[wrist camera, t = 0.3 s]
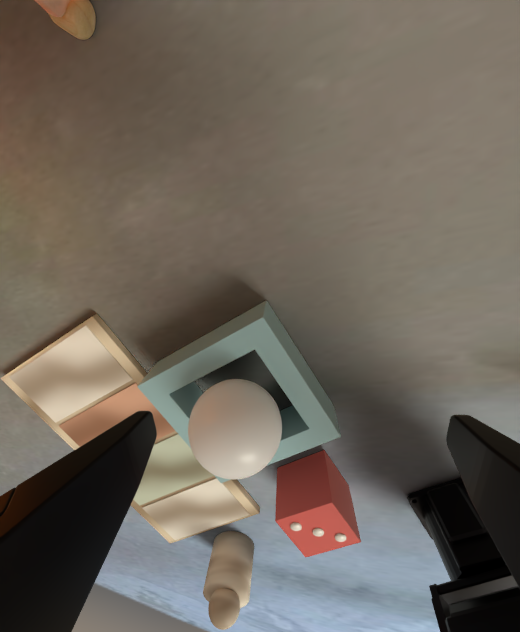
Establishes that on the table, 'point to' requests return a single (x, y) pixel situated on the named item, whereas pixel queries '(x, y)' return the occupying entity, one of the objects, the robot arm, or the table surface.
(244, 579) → the pawn
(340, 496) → the red die
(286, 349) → the housing
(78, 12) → the grandmother figurine
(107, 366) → the game board
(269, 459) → the white ball
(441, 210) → the table surface
